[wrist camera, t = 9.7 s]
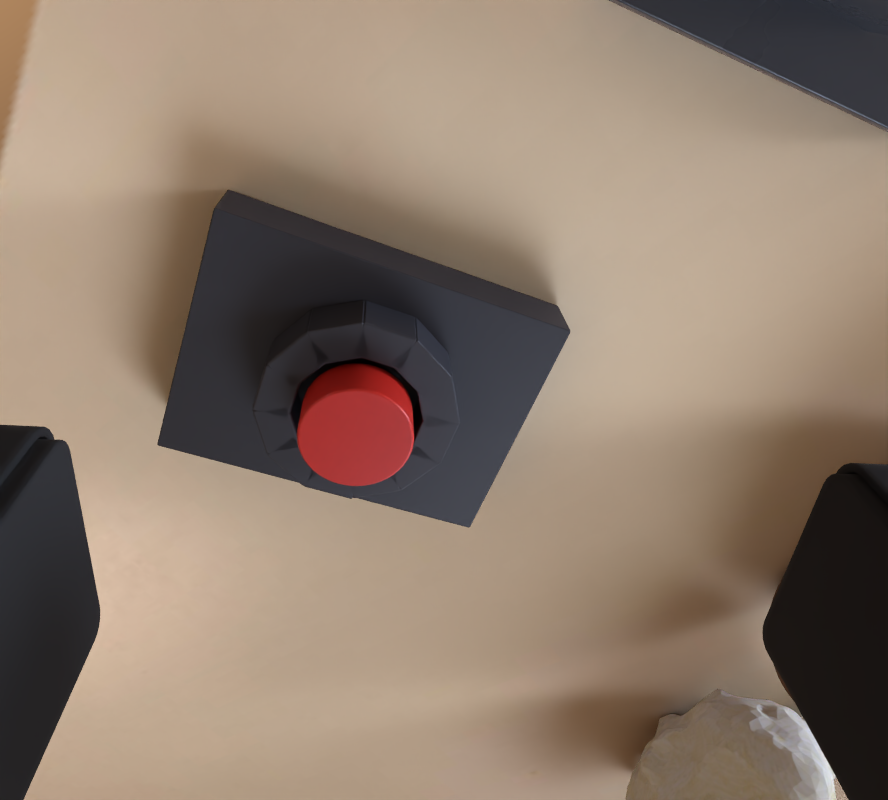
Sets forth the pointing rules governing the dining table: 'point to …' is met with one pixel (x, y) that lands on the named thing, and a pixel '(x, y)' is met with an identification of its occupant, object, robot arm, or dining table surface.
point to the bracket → (794, 44)
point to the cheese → (732, 755)
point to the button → (356, 425)
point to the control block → (353, 355)
